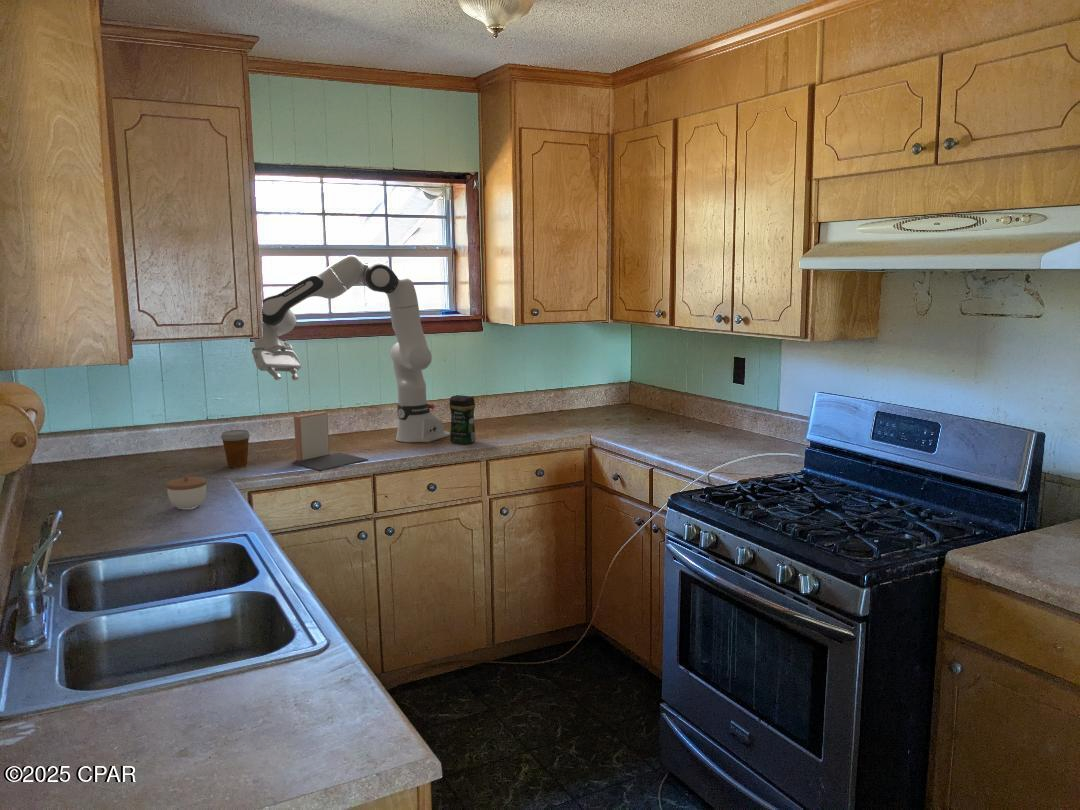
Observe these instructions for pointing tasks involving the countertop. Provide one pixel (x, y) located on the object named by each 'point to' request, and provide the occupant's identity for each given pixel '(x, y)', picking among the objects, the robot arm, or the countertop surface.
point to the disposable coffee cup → (236, 447)
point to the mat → (329, 461)
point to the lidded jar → (186, 491)
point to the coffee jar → (462, 419)
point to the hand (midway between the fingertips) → (287, 379)
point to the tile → (311, 435)
